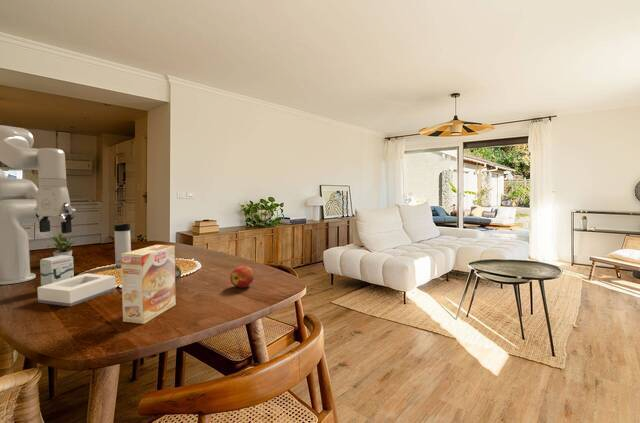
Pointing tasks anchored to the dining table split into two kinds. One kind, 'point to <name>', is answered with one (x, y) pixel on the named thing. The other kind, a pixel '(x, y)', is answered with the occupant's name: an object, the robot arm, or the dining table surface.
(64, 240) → the house plant
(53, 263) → the ink box
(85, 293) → the holder block
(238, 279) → the apple
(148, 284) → the coffeecake box
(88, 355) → the dining table surface
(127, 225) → the travel mug
